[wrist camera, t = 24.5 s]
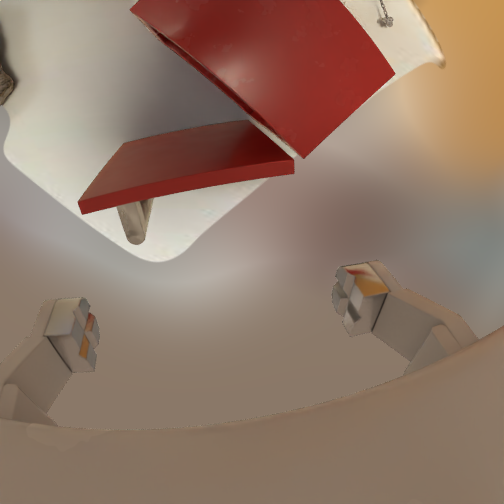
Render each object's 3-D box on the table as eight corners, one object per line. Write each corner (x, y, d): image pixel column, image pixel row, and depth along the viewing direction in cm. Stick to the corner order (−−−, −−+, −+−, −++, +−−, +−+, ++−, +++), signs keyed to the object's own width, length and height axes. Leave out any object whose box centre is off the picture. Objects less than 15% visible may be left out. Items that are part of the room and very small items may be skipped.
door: (253, 171, 34) (296, 243, 21) (135, 193, 33) (108, 278, 20) (248, 119, 30) (294, 159, 18) (123, 143, 29) (77, 201, 16)
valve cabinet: (252, 118, 31) (303, 159, 18) (158, 39, 23) (129, 9, 11) (308, 67, 28) (396, 74, 15) (219, -16, 21) (247, -80, 8)
